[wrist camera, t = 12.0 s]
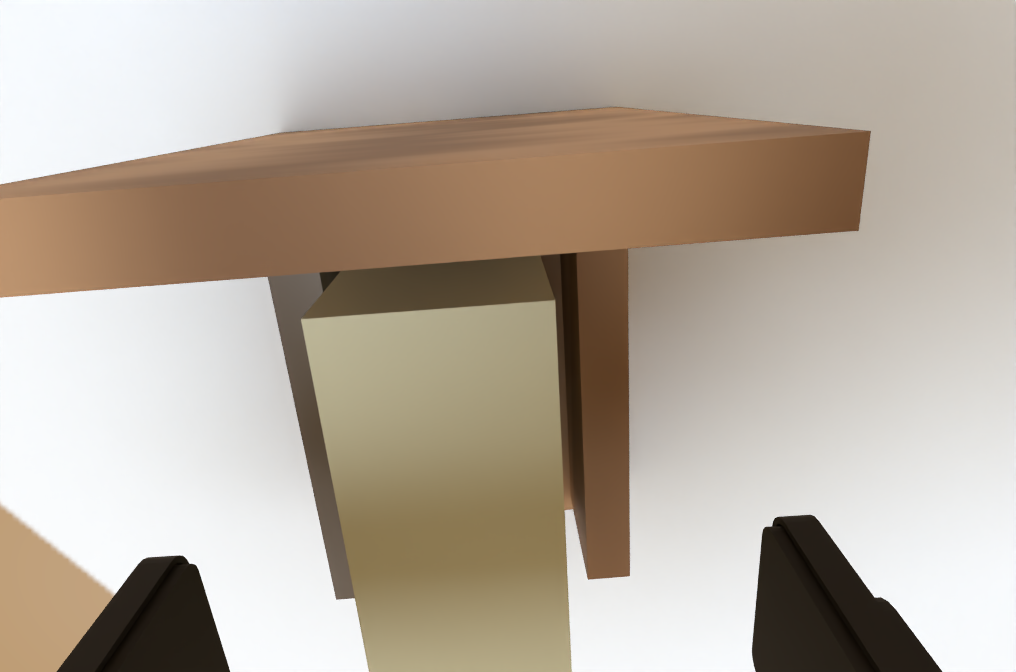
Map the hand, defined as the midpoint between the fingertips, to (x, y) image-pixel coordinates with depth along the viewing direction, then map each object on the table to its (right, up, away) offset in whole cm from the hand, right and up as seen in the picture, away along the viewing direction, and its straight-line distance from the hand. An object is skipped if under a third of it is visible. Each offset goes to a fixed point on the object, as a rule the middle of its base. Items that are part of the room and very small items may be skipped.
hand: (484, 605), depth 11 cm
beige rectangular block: (-1, +3, +10) cm, 10 cm away
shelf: (-1, +5, +11) cm, 12 cm away
